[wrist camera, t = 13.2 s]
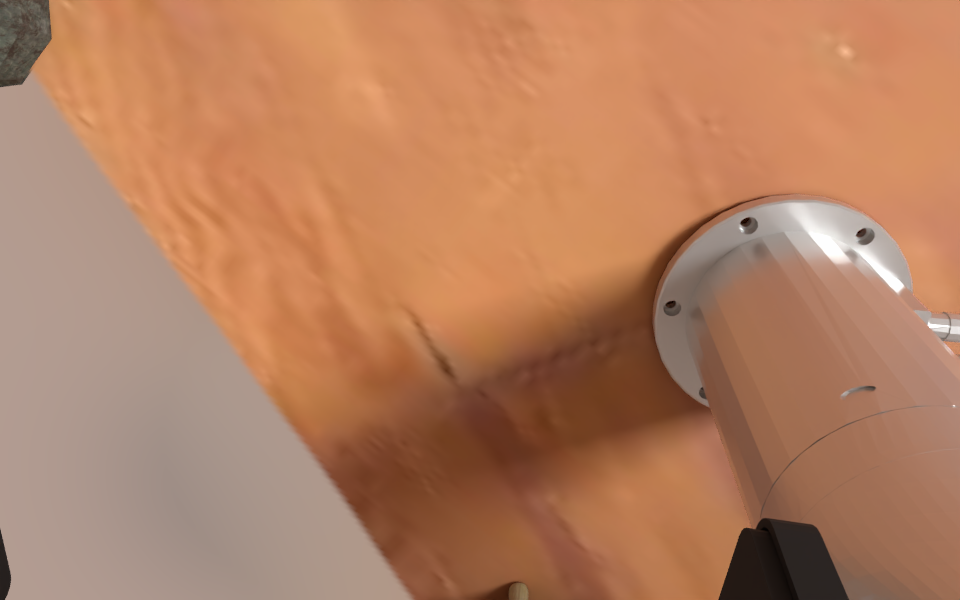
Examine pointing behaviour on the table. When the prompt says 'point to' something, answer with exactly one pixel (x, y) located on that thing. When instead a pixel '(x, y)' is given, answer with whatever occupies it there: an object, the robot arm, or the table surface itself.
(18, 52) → the sword in stone
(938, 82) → the table surface
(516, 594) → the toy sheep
